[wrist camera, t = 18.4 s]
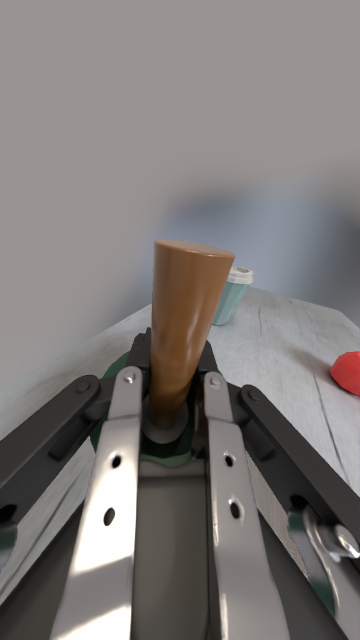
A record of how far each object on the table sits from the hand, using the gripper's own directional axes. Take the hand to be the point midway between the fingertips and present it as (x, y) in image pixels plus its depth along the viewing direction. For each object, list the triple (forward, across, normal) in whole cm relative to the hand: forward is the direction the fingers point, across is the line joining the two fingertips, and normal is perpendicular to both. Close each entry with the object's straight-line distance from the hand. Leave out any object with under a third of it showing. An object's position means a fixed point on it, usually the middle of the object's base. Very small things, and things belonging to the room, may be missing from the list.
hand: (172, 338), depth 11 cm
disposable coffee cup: (+25, -14, +14) cm, 32 cm away
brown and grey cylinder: (-3, 0, +11) cm, 11 cm away
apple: (+6, -37, +14) cm, 40 cm away
